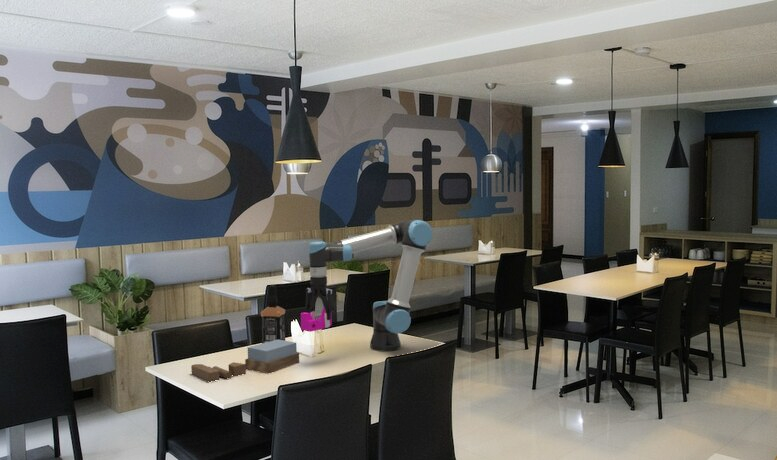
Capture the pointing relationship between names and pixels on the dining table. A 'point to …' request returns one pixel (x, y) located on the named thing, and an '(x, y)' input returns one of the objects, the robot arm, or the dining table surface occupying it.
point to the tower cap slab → (272, 350)
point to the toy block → (313, 321)
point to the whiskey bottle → (273, 319)
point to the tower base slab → (272, 364)
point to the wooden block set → (218, 371)
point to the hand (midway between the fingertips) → (320, 326)
